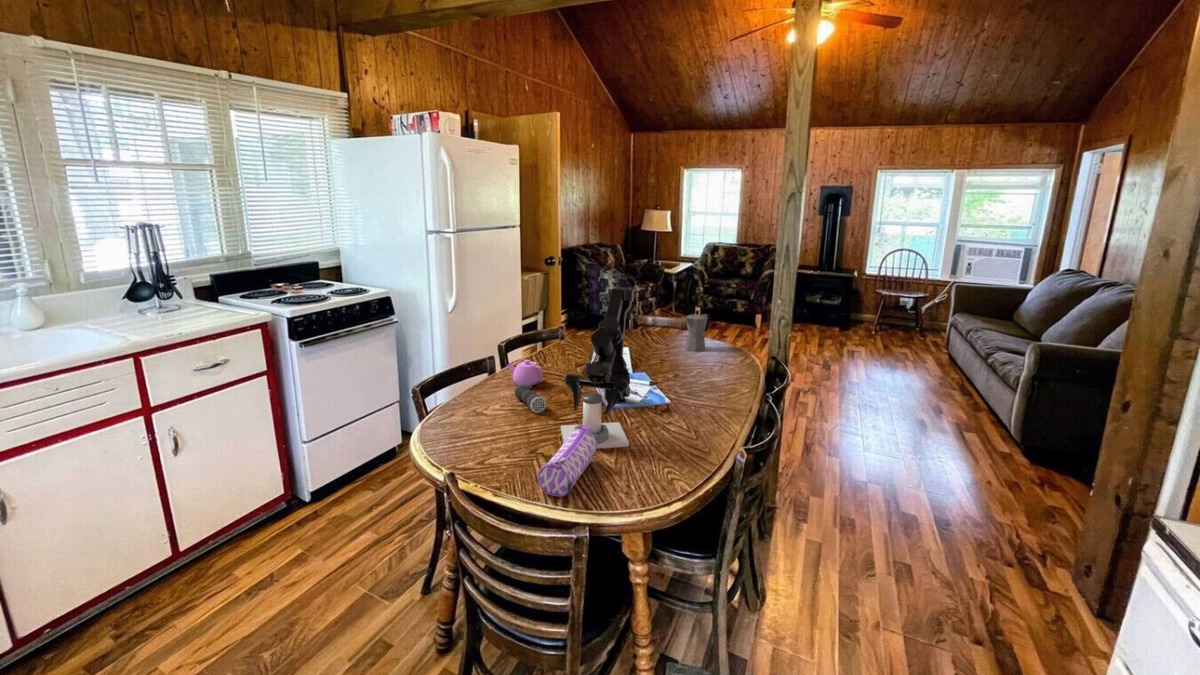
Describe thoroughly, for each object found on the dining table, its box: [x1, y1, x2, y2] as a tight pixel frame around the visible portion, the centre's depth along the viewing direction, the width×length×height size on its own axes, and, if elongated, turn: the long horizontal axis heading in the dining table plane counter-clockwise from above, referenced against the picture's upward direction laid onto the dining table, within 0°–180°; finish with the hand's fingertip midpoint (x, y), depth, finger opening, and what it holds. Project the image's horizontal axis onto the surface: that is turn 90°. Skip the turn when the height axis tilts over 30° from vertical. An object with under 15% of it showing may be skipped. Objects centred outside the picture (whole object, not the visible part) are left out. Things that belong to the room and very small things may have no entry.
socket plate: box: [560, 421, 630, 450], centre depth 160 cm, size 18×14×4 cm
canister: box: [582, 392, 603, 435], centre depth 156 cm, size 5×5×12 cm
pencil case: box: [537, 426, 597, 497], centre depth 137 cm, size 22×9×10 cm, turn 163°
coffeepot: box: [684, 310, 712, 353], centre depth 248 cm, size 15×9×18 cm, turn 125°
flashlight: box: [514, 385, 547, 414], centre depth 183 cm, size 15×5×5 cm, turn 31°
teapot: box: [507, 359, 544, 389], centre depth 202 cm, size 10×15×9 cm
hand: (590, 412), depth 155 cm, fingers open, 9 cm apart
